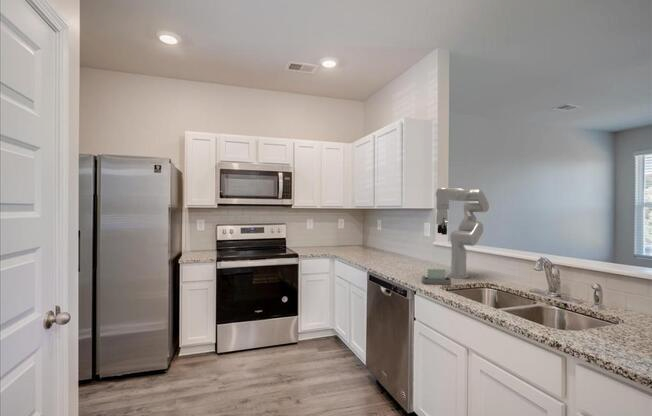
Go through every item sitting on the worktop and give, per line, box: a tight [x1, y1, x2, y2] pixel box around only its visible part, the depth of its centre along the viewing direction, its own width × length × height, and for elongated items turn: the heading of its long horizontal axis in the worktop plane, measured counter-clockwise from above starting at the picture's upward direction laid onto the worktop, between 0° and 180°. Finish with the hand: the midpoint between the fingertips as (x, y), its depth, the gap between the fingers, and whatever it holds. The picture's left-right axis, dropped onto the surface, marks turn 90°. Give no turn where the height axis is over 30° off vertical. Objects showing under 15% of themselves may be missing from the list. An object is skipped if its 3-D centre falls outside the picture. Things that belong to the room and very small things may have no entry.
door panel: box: [427, 267, 446, 280], centre depth 203 cm, size 3×10×8 cm, turn 86°
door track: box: [421, 275, 452, 286], centre depth 203 cm, size 7×16×4 cm, turn 86°
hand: (442, 233), depth 209 cm, fingers open, 9 cm apart
